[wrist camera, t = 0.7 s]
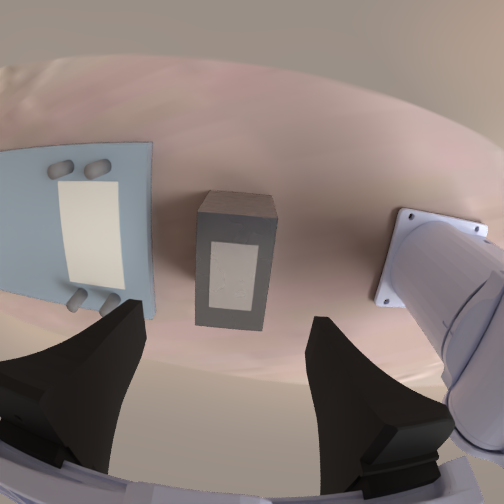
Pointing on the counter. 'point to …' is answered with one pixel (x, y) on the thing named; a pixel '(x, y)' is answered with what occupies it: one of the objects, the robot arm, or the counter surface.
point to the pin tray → (78, 224)
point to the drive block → (234, 259)
